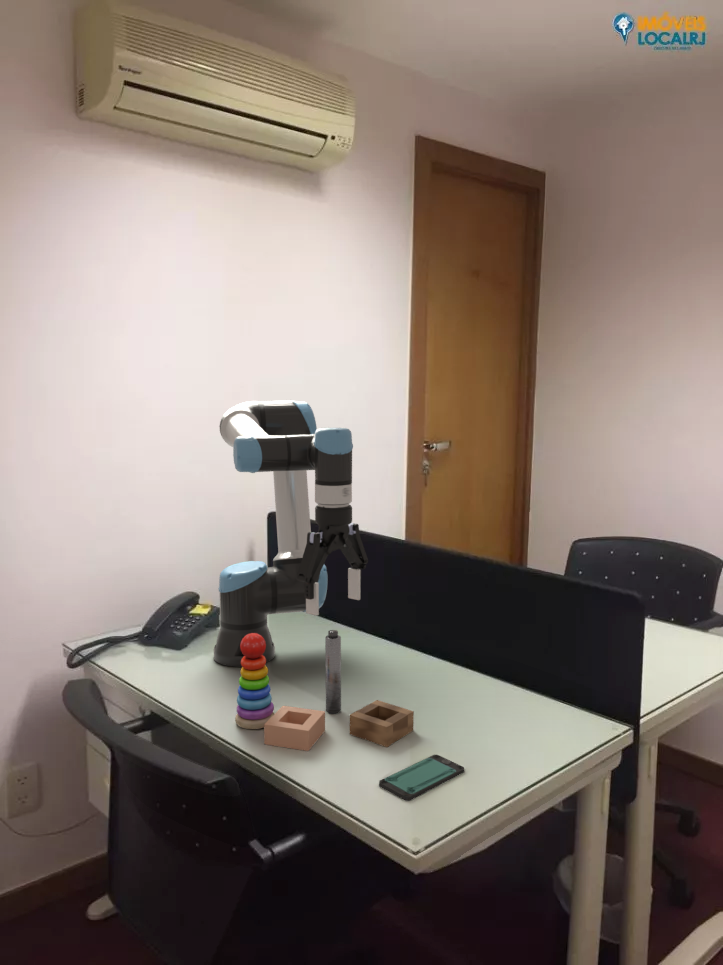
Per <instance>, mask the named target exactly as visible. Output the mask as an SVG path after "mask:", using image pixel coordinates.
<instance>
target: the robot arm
mask: <svg viewBox="0 0 723 965" xmlns="http://www.w3.org/2000/svg"><path fill="white" fill-rule="evenodd" d="M316 422H317V421H316V417H315V414H314V411H313V409H312V407H311V405H310V404H309V403H308V402H306V401H301V400H300V401H298V400H292V399H290V400H272V401H271V400H267V401H266V400H265V401H264V400H261V401H260V400H259V401H258V400H251V401H250V400H249V401H245V402H241V403H239V404H236V405H235V406H232V407H231V408H229V409H228V410H227V411H226V412H225V413H223V416H222V417H221V419H220V421H219V426H218V427H219V433H220V436H221V438H222V440H223V441H224V443H226V444H227V445H228V446H230V447H232V449H233V454H232V456H233V464H234V469H236V471H237V472H239V473H251V474H255V473H263V472H264V473H266V472H267V473H269V472H273V474H272V475H273V486H274V488H273V489H274V502H275V519H276V521H275V522H276V534H277V535H276V536H277V548H278V549H277V550H278V552H277V554H276V556H274V558H273V560H272V562H273V564H272V566H269V567H268V565H267V564H266V562H264V561H261V560H255V561H254V560H248V561H242V562H238V563H234V564H231V565H229V566H226V567H225V568H223V569H222V570H221V572H220V574H219V578H218V579H219V581H218V582H219V583H218V592H219V624H220V625H219V626H220V627H219V630H218V634H217V639H216V644H215V645H214V647H213V659H214V661H215V662H216V663H217V664H220V665H223V666H227V667H235V668H236V667H237V668H239V667H241V668H242V665H241V660H242V658H243V657H244V655H243V654H242V652H241V648H240V644H241V641H242V639H243V638H244V637H245V636H246V635H248V634H250V633H257V634H259V635H261V636H262V637H263V638H264V640H265V642H266V649H265V652H264V653H263V654H262V655H263V656H264V657H265V658H266V663H267V662H270V661H271V660H273V659H274V658H275V656H276V650H275V643H274V641H273V639H272V635H271V632H270V629H269V626H268V615H274V614H275V615H276V614H277V615H278V614H286V613H299V612H303V613H305V614H308V615H312V616H319V615H320V612H319V611H320V608H322V607H323V605H324V603H325V601H326V597H327V590H328V582H329V581H328V578H329V577H328V571H327V570H328V569H327V566H326V565H325V562H326V561H327V558H328V556H330V555H331V554H332V553H333V552H336V551H338V550H340V551H341V553H342V554H343V556H344V558H345V559H346V561H347V562H348V564H349V565H350V567H348V568H347V579H348V580H347V594H348V595H347V598H348V599H351V600H356V601H360V600H361V582H362V570H365V569H366V568H367V564H368V562H369V559H368V556H367V553H366V550H365V547H364V544H363V541H362V538H361V535H360V526H359V525H360V524H358V523H353V506H352V505H351V504H352V502H353V495H352V494H353V492H352V491H353V490H352V489H353V488H352V487H353V486H352V485H353V448H354V444H353V437H352V435H353V434H352V431H351V430H350V429H349V428H347V427H321V428H317V423H316ZM307 471H314V502H315V503H316V505H315V507H314V522H315V523H316V525H318V532H314V531H313V532H312V530H311V516H310V500H309V485H308V484H309V483H308V472H307Z"/></svg>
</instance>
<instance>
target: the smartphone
mask: <svg viewBox="0 0 723 965" xmlns="http://www.w3.org/2000/svg"><path fill="white" fill-rule="evenodd" d="M463 773H465V767H464V766H462V765H460V764H458V763H456V762H454V761H452V760H450V759H448V758H445V757H443V756H442V755H439V754H432V755H430V756H427V757H426V758H424V759H422V760H420V761H417V762H415V763H414V764H411V765H409V766H407V767H405V768H403V769H400V770H399V771H397V772H395V773H393V774H391V775H388V776H386V777H384V778H382V779H380V780H378V783H379V784H378V786H379V788H381V789H383V790H384V791H386V792H388V793H390V794H392V795H394V796H395V797H397V798H399V799H401V800H403V801H405V802H410V801H413V800H414V799H417V798H418V797H420V796H422V795H423V794H426V793H427V792H430V791H431V790H433V789H435V788H437V787H439V786H441V785H443V784H445V783H447V782H448V781H450V780H452V779H454V778H456V777H457V776H460V775H461V774H463Z"/></svg>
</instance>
